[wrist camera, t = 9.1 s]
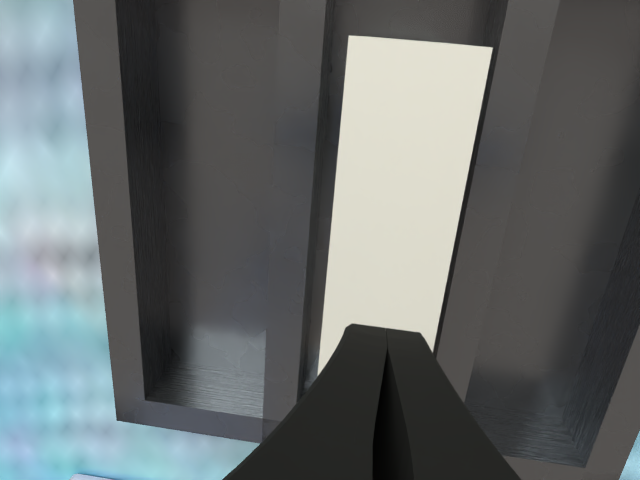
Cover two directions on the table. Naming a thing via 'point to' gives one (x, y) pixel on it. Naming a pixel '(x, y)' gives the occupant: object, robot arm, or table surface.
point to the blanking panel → (399, 182)
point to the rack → (317, 206)
